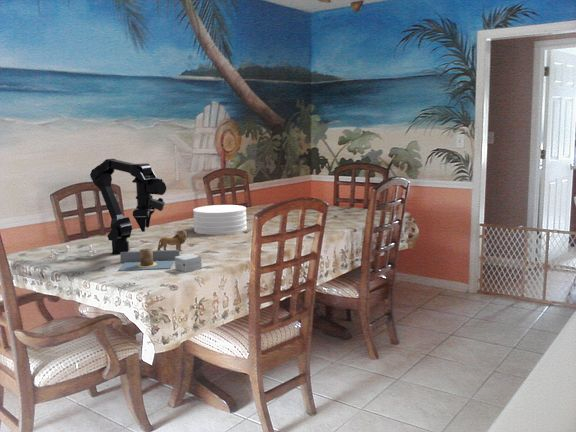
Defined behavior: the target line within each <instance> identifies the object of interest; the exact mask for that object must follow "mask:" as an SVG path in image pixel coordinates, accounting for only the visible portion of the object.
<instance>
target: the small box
mask: <svg viewBox="0 0 576 432" xmlns="http://www.w3.org/2000/svg"><path fill="white" fill-rule="evenodd" d="M202 261H203V259H202V256H200V255H197V254H193V253H186V254H182V255H180V256H176V257H175V260H174V267H175V268H174V269H176V270H179V271H181V272H183V273H188V272H193V271H197V269H198V270H201V268H203V264H202Z"/></svg>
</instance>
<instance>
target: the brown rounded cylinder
mask: <svg viewBox="0 0 576 432" xmlns="http://www.w3.org/2000/svg"><path fill="white" fill-rule="evenodd" d="M139 251H140V261H139V262H140V264H141V266H151V265H153V251H154V249H153V248H142V249H140V250H139Z"/></svg>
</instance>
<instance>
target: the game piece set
mask: <svg viewBox="0 0 576 432" xmlns="http://www.w3.org/2000/svg"><path fill="white" fill-rule="evenodd" d="M88 248H89V251H88V254H89V255H88V256H89V257H93V256H94V254H97V252H98V251H97V250H96V249H94V250H93V245H92V244H89V245H88ZM64 249H65V250H66V253H68V251H69V252H70V246H69V245H65V246H64ZM83 249H84V247H82V248H80V249H79V250H82V251H83ZM57 251H58V248H56V251H54V250H53V249H51V250H50V253H51V255H49V258H50V257H53V256H54V257H53V259H54V260H58V258H59V256H57V255H59V253H58V252H57ZM77 258H81V259H82V258H83V255H82V253H79V255H77ZM64 261H70V258H69V255H67V256H66V255H65V256H64Z"/></svg>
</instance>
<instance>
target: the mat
mask: <svg viewBox="0 0 576 432" xmlns="http://www.w3.org/2000/svg"><path fill="white" fill-rule="evenodd" d="M174 263H175V260H163V261H153V265H151V266H141V264H140V261H139V262H123V264H121V266H120V267H119V268H118V269H117V272H126V271H127V272H128V271H151V270H152V271H153V270H169V269H170V270H171V269H172V266H173V264H174Z"/></svg>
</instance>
